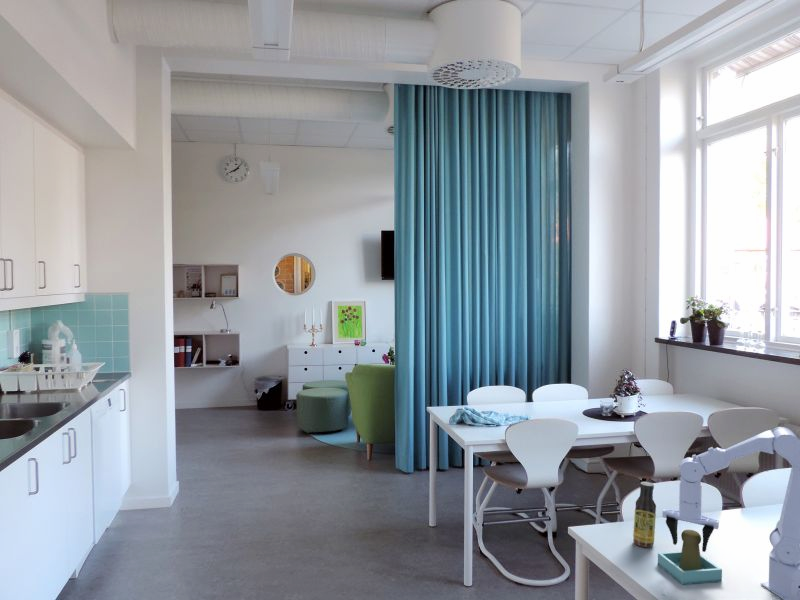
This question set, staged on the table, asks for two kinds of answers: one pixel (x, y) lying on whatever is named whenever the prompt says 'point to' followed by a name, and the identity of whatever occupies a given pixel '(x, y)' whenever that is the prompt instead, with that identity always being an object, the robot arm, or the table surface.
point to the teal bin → (706, 575)
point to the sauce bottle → (645, 516)
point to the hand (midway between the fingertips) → (689, 546)
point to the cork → (690, 551)
